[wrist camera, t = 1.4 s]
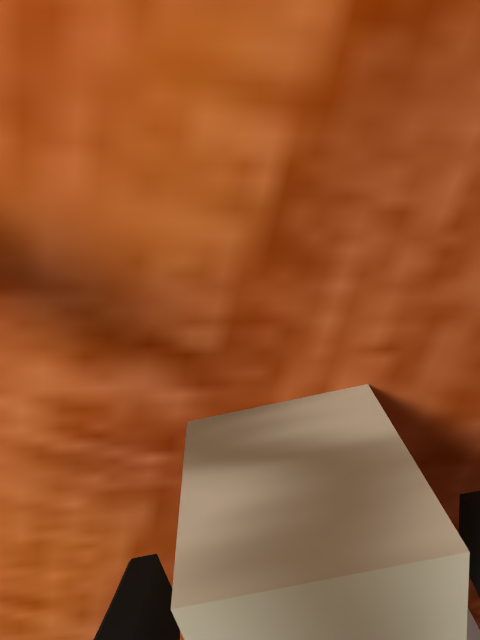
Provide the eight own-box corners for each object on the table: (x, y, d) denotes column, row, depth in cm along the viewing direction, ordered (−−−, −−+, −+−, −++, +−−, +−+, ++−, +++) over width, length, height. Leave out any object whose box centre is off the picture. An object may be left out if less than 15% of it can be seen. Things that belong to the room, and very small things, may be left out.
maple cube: (227, 540, 14) (233, 747, 9) (187, 420, 12) (170, 609, 7) (379, 511, 13) (463, 706, 9) (366, 382, 11) (469, 551, 7)
